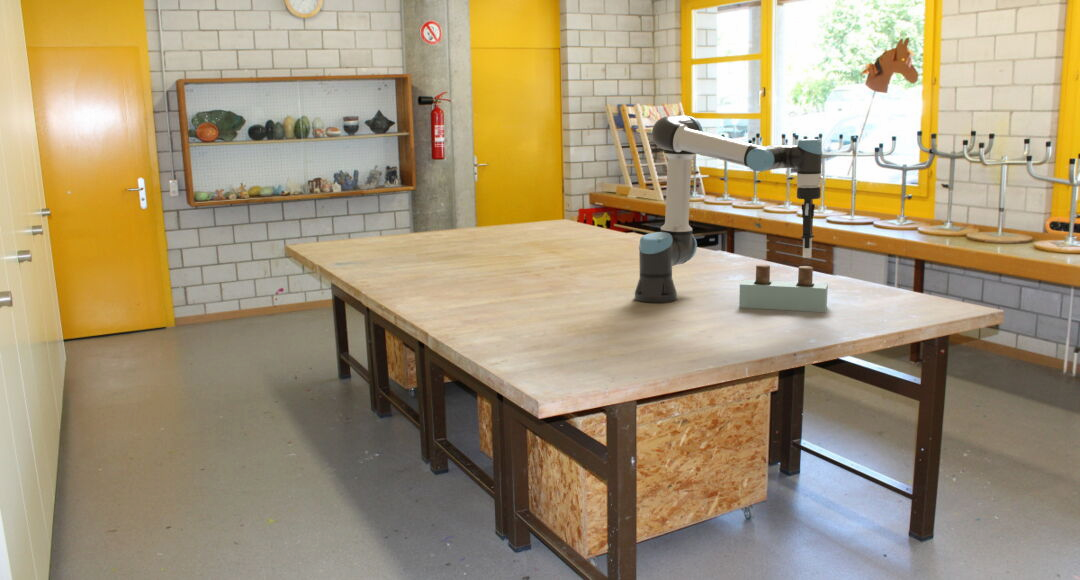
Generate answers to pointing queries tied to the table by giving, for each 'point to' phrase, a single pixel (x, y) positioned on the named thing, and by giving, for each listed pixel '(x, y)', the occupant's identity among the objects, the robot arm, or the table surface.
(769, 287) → the socket board
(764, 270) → the peg
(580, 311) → the table surface
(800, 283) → the peg
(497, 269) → the table surface
